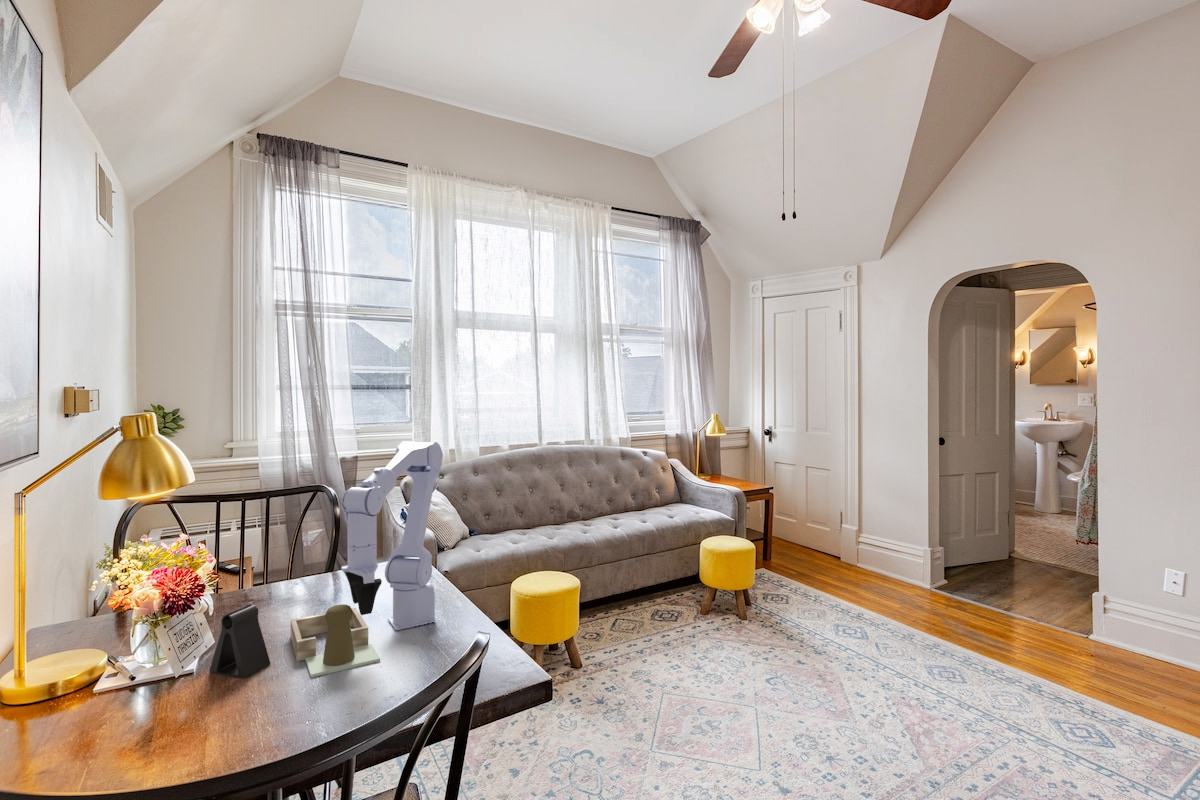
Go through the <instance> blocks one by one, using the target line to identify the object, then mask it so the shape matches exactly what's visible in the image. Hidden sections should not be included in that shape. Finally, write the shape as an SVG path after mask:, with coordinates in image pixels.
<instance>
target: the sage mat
mask: <svg viewBox="0 0 1200 800" xmlns="http://www.w3.org/2000/svg"><path fill="white" fill-rule="evenodd" d="M354 655H355V658H354V659H353V660H352V661H351V662H349V663H346V664H344V665H339V666H327V665H325V664H323V657H324V653H322V654H318V655H316V656H313V657H309V658H306V659H305V663H306V666H307V669H308V670H307V671H308V672H309V673H308V674H309V676H310V678H316V677H319V676H324V675H328V674H331V673H336V672H341V671H344V670H349V669H353V668H357V667H361V666H366V665H370V664H374V662H375V663H379V662H381V658H380V656H379V654H378V652H377V651H376V649H375V647H374V645H373V644H372V643H368V645H363V646H359V647H354Z"/></svg>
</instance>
